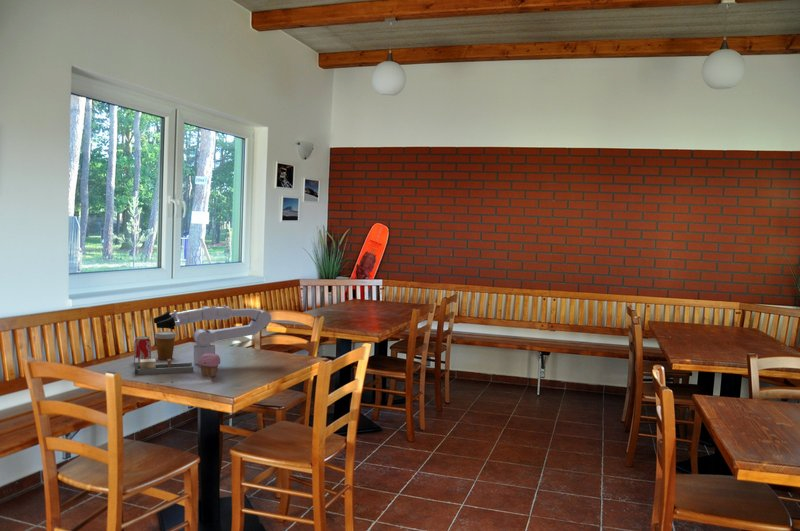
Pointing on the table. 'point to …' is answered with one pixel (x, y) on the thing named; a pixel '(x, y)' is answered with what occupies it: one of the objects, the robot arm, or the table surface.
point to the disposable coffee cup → (165, 344)
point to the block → (152, 364)
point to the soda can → (142, 348)
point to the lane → (174, 368)
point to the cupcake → (209, 364)
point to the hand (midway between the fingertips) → (155, 323)
